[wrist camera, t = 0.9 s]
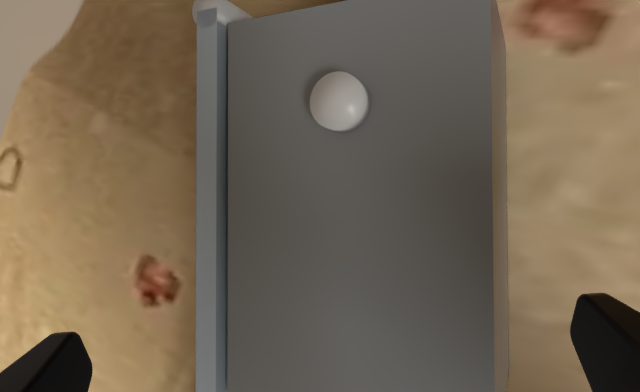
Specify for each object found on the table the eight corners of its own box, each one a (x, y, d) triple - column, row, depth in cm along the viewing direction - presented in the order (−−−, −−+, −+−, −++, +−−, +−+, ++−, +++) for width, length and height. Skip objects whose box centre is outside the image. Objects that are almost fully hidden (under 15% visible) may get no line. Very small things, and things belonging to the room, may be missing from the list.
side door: (305, 563, 20) (219, 693, 15) (276, 553, 21) (184, 675, 15) (305, 44, 21) (221, -13, 15) (276, 49, 21) (187, -5, 16)
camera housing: (508, 374, 17) (492, 462, 11) (309, 348, 21) (215, 405, 15) (505, 1, 18) (487, -104, 12) (309, 34, 21) (217, -35, 15)
